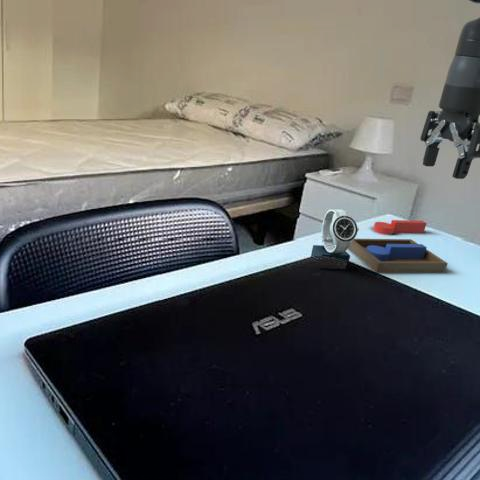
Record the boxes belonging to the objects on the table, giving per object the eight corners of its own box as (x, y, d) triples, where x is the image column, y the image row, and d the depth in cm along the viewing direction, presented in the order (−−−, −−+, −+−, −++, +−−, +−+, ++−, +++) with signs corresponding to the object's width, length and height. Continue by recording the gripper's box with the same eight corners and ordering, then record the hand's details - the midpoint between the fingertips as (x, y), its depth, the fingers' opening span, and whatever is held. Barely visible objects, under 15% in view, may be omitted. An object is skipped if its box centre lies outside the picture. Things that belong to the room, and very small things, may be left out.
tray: (408, 248, 107) (411, 239, 107) (444, 272, 97) (447, 263, 96) (346, 247, 105) (348, 238, 104) (376, 273, 94) (379, 263, 94)
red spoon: (415, 228, 119) (418, 218, 118) (427, 235, 115) (430, 225, 114) (369, 227, 117) (372, 217, 116) (379, 235, 113) (382, 224, 112)
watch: (323, 274, 92) (336, 218, 88) (306, 255, 99) (317, 203, 95) (351, 275, 93) (366, 219, 88) (333, 256, 100) (345, 204, 96)
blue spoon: (414, 252, 104) (417, 241, 103) (427, 262, 100) (431, 250, 99) (360, 252, 101) (363, 240, 100) (372, 261, 98) (375, 249, 96)
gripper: (519, 90, 83) (487, 183, 90) (459, 80, 96) (435, 162, 103) (479, 88, 82) (450, 182, 88) (424, 78, 95) (402, 161, 101)
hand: (442, 171), depth 96 cm, fingers open, 8 cm apart
